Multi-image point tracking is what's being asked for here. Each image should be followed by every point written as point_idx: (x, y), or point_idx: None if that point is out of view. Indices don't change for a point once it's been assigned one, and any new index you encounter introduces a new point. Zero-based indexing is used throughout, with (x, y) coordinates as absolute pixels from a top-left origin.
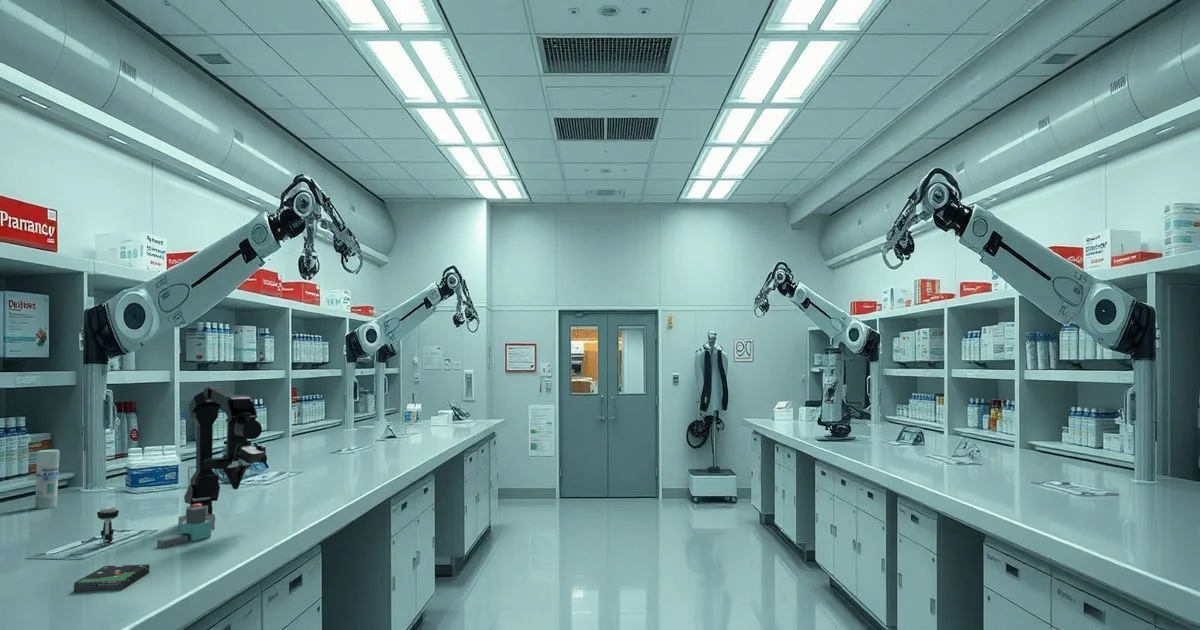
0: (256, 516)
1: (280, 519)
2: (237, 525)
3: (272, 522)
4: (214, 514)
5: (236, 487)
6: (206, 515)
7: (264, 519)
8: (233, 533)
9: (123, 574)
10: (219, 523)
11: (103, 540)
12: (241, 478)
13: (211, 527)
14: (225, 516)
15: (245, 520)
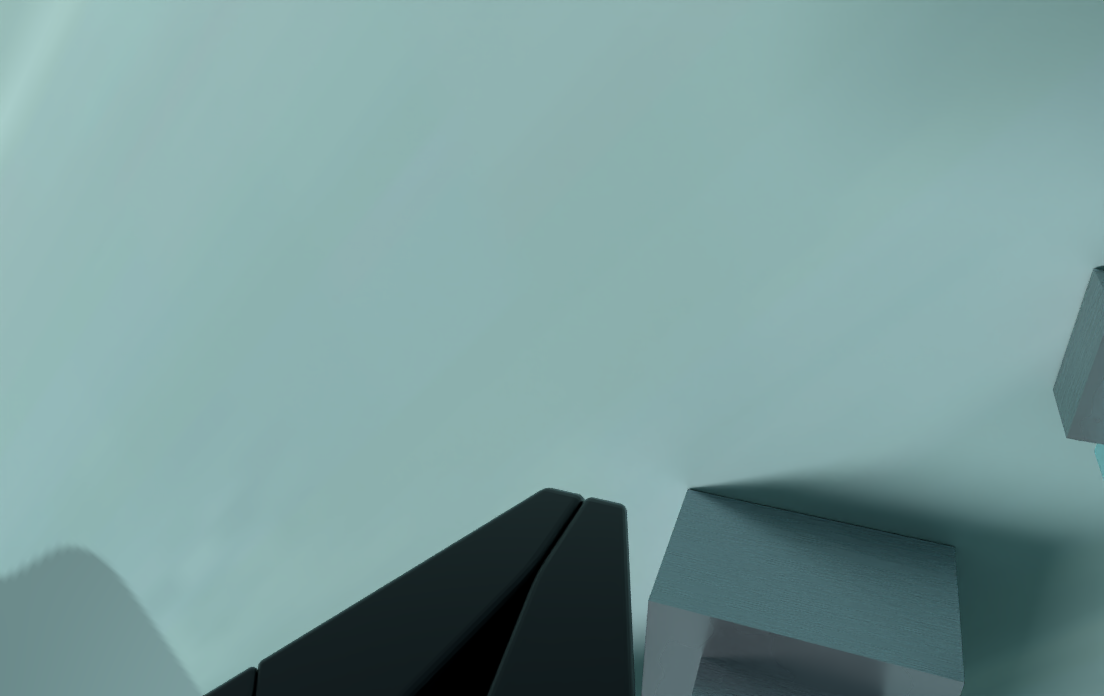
0: (158, 458)
1: (92, 169)
2: (462, 387)
3: (205, 142)
4: (653, 603)
5: (597, 523)
6: (734, 654)
7: (179, 318)
8: (809, 138)
9: None
10: None
11: None
12: (301, 660)
13: (723, 513)
14: None
15: (292, 450)
